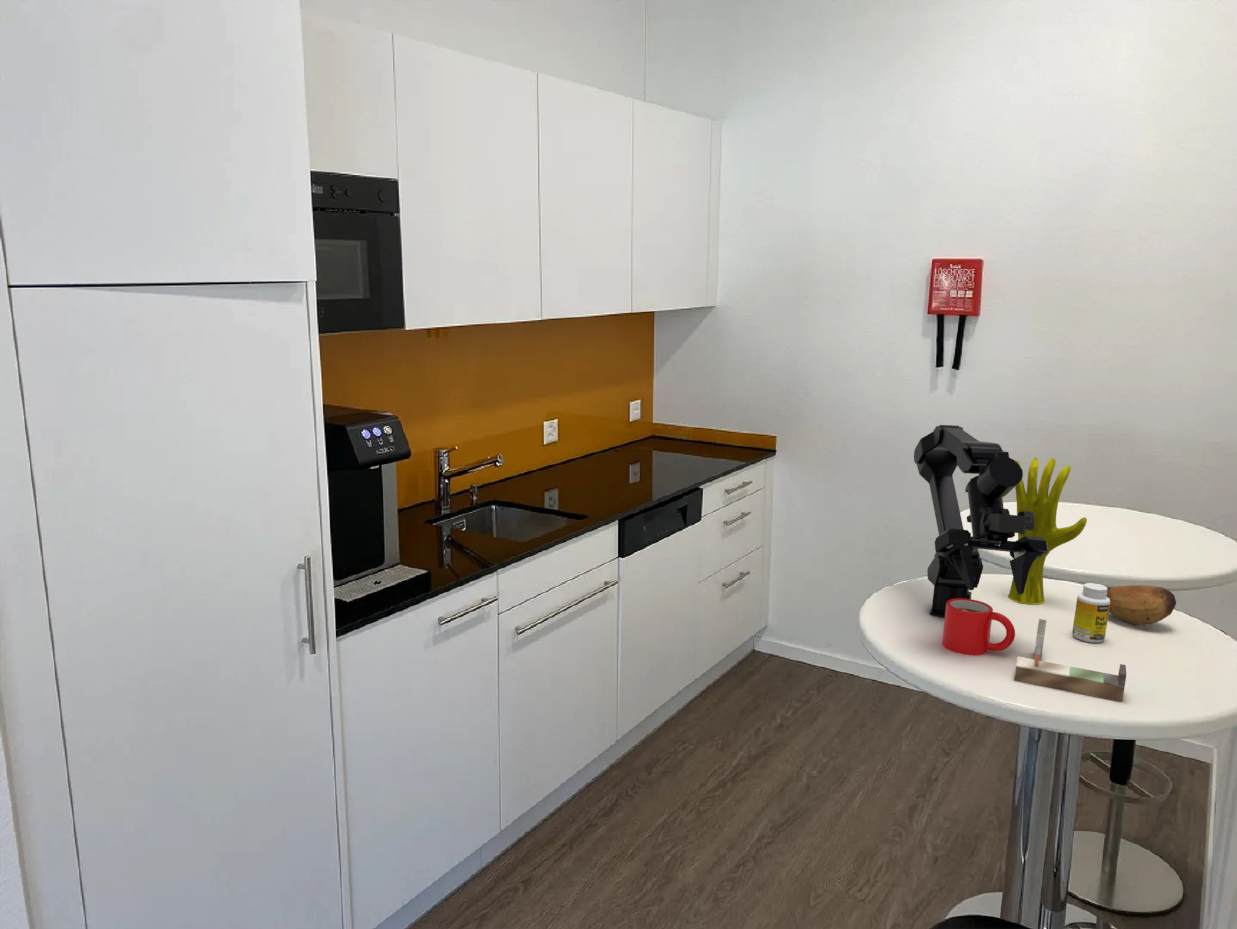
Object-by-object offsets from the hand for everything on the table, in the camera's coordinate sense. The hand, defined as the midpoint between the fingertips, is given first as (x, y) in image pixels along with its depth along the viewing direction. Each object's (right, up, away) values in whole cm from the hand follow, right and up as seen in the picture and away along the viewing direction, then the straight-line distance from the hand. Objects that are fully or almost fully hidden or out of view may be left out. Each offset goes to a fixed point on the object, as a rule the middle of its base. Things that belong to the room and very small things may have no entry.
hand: (996, 592), depth 166 cm
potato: (+36, -9, +22) cm, 43 cm away
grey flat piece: (+6, -12, -1) cm, 14 cm away
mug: (-1, -11, +6) cm, 13 cm away
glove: (+21, -6, +33) cm, 40 cm away
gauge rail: (+8, -14, -9) cm, 19 cm away
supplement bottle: (+22, -11, +13) cm, 28 cm away
